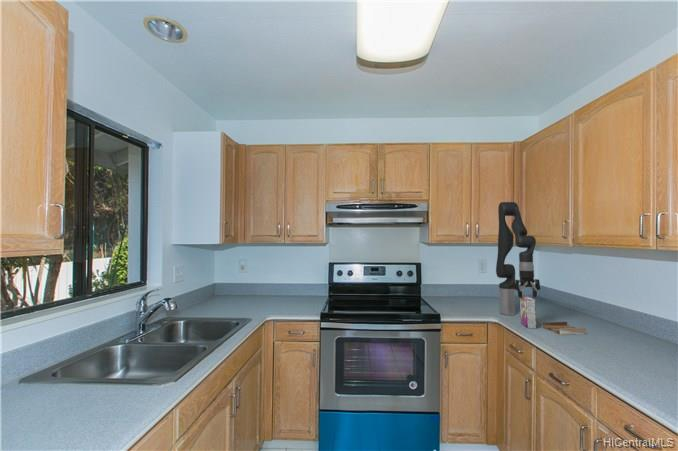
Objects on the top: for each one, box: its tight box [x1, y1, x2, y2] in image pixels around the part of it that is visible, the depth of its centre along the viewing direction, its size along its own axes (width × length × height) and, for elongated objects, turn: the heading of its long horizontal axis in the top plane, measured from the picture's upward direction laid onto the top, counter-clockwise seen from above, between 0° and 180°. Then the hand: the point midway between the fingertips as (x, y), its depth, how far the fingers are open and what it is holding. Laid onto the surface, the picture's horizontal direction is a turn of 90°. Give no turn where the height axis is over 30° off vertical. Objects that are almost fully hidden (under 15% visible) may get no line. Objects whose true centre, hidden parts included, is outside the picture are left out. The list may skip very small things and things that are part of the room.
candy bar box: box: [519, 295, 537, 330], centre depth 189 cm, size 11×5×16 cm, turn 168°
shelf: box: [542, 321, 587, 336], centre depth 178 cm, size 14×14×3 cm
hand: (527, 297), depth 189 cm, fingers open, 8 cm apart
